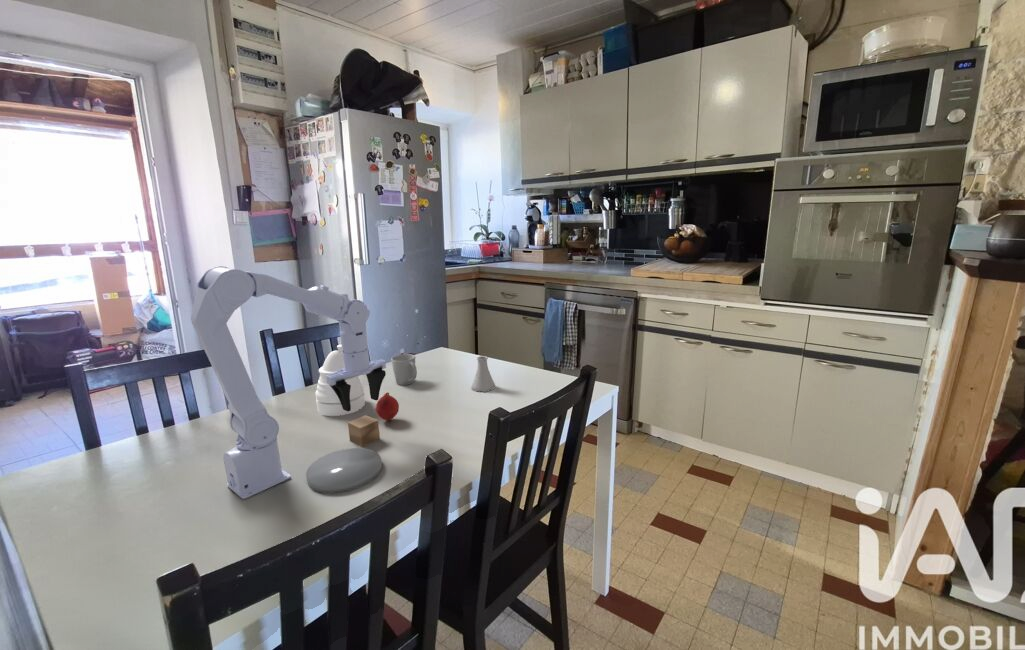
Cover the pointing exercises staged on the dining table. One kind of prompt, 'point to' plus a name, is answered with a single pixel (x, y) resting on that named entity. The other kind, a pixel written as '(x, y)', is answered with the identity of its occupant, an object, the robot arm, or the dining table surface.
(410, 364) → the cup
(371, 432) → the cube
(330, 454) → the plate
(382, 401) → the onion
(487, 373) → the flask
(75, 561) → the dining table surface
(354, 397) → the honey pot
